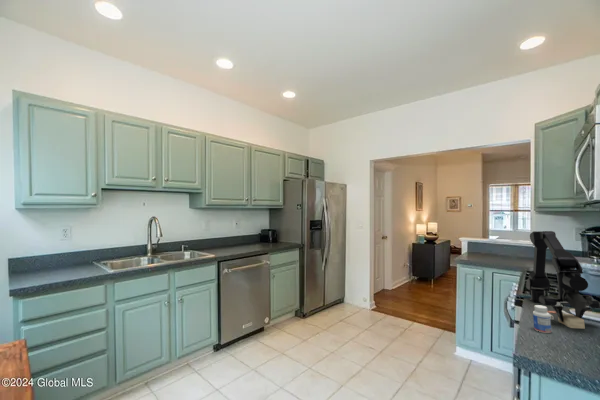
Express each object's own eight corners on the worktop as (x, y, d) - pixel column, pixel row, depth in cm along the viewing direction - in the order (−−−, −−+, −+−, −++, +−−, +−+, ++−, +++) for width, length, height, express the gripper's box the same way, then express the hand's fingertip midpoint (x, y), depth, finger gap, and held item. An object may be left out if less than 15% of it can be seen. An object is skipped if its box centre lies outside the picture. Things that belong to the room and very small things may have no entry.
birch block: (558, 321, 122) (557, 313, 122) (571, 322, 121) (570, 313, 122) (570, 328, 115) (570, 319, 116) (584, 328, 115) (584, 319, 115)
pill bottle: (534, 327, 117) (532, 303, 118) (551, 330, 114) (549, 305, 115) (534, 331, 113) (532, 307, 114) (552, 334, 110) (549, 309, 110)
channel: (537, 310, 136) (537, 307, 136) (560, 312, 134) (559, 308, 134) (551, 319, 125) (550, 316, 125) (576, 321, 122) (575, 317, 122)
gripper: (550, 288, 115) (553, 327, 114) (608, 291, 109) (612, 331, 108) (537, 282, 126) (539, 317, 125) (589, 284, 120) (592, 321, 119)
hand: (570, 322), depth 119 cm, fingers closed on birch block, 5 cm apart
